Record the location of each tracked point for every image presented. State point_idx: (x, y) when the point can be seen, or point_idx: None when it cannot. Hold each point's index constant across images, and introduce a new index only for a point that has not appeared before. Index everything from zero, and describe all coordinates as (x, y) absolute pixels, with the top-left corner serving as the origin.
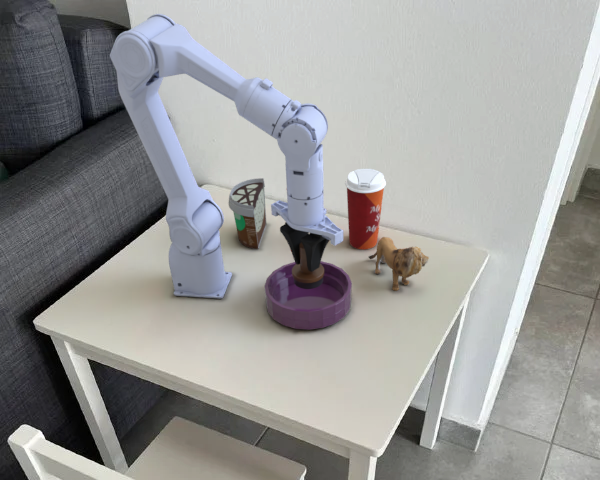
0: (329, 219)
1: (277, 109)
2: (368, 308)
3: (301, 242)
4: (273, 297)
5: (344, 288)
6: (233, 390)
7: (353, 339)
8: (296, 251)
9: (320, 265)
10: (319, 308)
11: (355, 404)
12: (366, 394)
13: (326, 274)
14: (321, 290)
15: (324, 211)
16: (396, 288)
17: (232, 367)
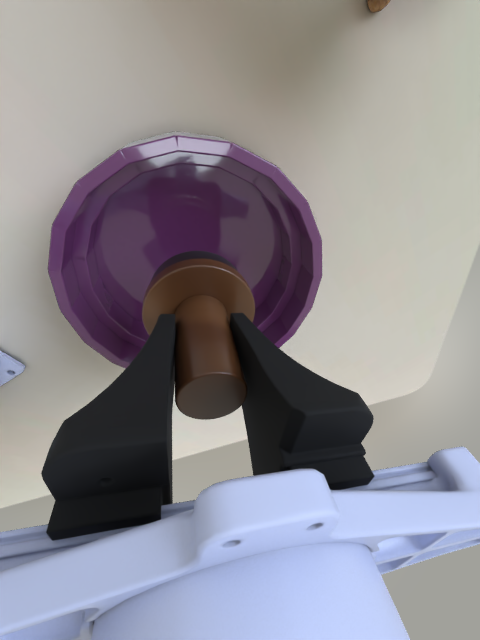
0: (420, 534)
1: None
2: (329, 170)
3: (178, 402)
4: (126, 321)
5: (266, 190)
6: (242, 437)
7: (339, 282)
8: (172, 392)
9: (218, 273)
10: (285, 336)
11: (387, 369)
12: (396, 351)
13: (167, 159)
14: (183, 199)
15: (333, 528)
16: (387, 2)
17: (211, 424)
